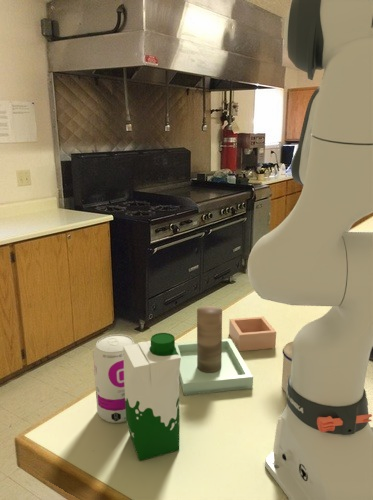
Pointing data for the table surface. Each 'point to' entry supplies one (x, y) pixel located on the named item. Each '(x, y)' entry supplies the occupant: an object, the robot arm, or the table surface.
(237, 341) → the terracotta holder
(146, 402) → the milk carton
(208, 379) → the sage tray
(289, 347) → the teacup with lid
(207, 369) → the walnut canister
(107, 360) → the supplement can
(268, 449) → the table surface
